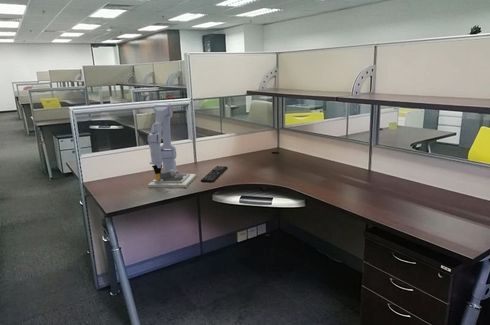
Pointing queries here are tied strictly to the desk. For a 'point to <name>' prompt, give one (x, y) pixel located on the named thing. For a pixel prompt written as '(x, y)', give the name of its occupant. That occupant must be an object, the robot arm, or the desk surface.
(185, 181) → the white base plate
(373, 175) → the desk surface
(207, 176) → the black keyboard
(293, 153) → the desk surface
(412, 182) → the desk surface
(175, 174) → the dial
